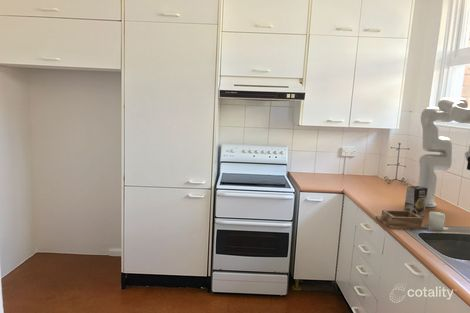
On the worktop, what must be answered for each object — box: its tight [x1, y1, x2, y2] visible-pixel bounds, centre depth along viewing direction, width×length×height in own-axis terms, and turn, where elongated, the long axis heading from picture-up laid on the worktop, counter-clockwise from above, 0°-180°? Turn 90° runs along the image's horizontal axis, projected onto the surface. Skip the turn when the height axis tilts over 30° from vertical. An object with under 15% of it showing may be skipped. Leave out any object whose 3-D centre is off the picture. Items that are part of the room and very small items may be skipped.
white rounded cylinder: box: [427, 211, 446, 230], centre depth 175 cm, size 7×7×7 cm
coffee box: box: [403, 185, 428, 218], centre depth 192 cm, size 9×6×16 cm
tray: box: [375, 209, 429, 230], centre depth 178 cm, size 16×19×5 cm
